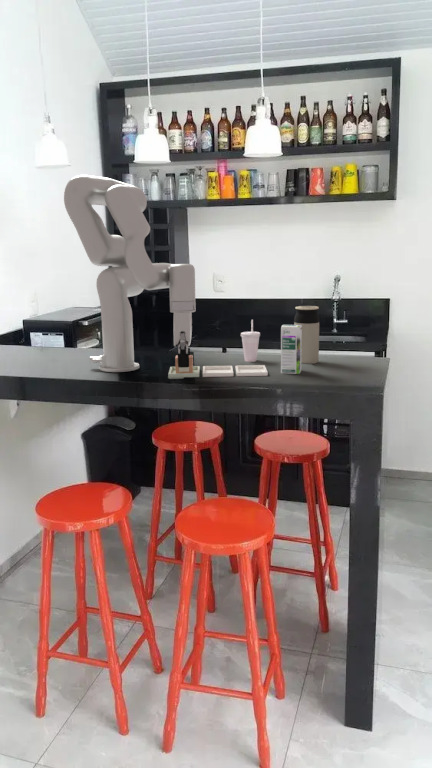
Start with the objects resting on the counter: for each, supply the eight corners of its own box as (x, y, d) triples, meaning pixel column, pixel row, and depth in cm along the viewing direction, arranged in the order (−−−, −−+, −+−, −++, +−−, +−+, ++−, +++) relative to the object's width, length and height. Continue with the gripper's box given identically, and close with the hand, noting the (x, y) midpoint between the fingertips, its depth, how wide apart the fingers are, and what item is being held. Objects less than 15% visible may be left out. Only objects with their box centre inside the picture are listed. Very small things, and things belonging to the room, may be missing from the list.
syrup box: (280, 374, 193) (280, 326, 189) (282, 371, 198) (283, 323, 195) (299, 375, 191) (300, 326, 188) (301, 371, 197) (302, 324, 194)
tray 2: (202, 378, 189) (202, 373, 189) (203, 370, 200) (202, 366, 200) (233, 377, 189) (233, 372, 189) (232, 370, 200) (232, 365, 200)
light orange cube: (175, 375, 192) (175, 358, 191) (176, 371, 197) (176, 355, 196) (192, 374, 192) (192, 358, 191) (193, 371, 197) (192, 355, 196)
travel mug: (314, 359, 216) (315, 305, 212) (321, 364, 208) (322, 307, 204) (290, 360, 215) (291, 306, 211) (297, 365, 207) (298, 308, 203)
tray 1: (168, 378, 189) (168, 373, 189) (170, 371, 200) (170, 366, 199) (199, 378, 189) (199, 373, 189) (199, 370, 200) (199, 366, 200)
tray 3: (236, 377, 189) (236, 372, 189) (235, 370, 200) (235, 365, 200) (267, 377, 189) (267, 372, 189) (264, 369, 200) (264, 365, 200)
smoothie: (258, 364, 209) (258, 320, 206) (239, 363, 211) (239, 320, 208) (261, 360, 216) (261, 318, 213) (242, 360, 217) (242, 318, 214)
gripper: (171, 304, 198) (173, 359, 202) (168, 310, 182) (170, 369, 185) (196, 303, 198) (197, 358, 202) (195, 309, 182) (196, 369, 185)
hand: (184, 364), depth 194 cm, fingers open, 9 cm apart
